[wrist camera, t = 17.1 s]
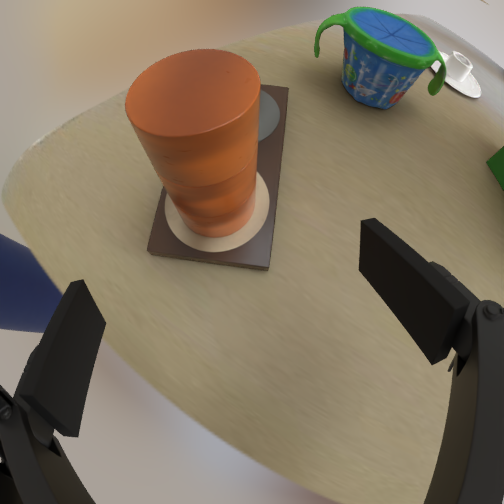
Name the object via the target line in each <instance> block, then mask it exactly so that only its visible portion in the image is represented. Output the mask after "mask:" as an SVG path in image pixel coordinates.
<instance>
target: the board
mask: <svg viewBox="0 0 504 504" xmlns="http://www.w3.org/2000/svg"><path fill="white" fill-rule="evenodd" d="M288 90H289V88H287V87H280V86H271V85H262V84H261V87H260V109H259V132H258V154H257V175H256V197H255V208H254V211H253V214H252V216H251V218H250V219H249V221H248V222H247V223H246V224H245V225H244V226H243V227H242V228H241V229H240V230H238V231H237V232H235V233H233V234H231V235H228V236H224V237H216V238H213V237H205V236H202V235H199V234H197V233H195V232H193V231H192V230H191V229H189V228H188V227H187V226H186V224H185V223H184V222H183V220H182V218H181V216H180V215H179V213H178V211H177V209H176V207H175V206H174V204H173V202H172V200H171V198H170V197H169V195H168V193H167V191H166V189H165V187H164V186H163V189H162V192H161V196H160V200H159V203H158V207H157V211H156V215H155V219H154V223H153V227H152V231H151V235H150V239H149V243H148V248H147V251H148V252H149V253H150V254H152V255H158V256H165V257H172V258H179V259H186V260H193V261H200V262H207V263H214V264H221V265H228V266H236V267H243V268H251V269H258V270H266V271H268V270H269V265H270V257H271V249H272V240H273V232H274V224H275V215H276V206H277V197H278V188H279V179H280V170H281V161H282V151H283V141H284V132H285V121H286V111H287V101H288Z"/></svg>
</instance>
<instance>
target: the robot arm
mask: <svg viewBox="0 0 504 504" xmlns="http://www.w3.org/2000/svg"><path fill="white" fill-rule="evenodd" d="M359 271H360V272H361V273H362V275H363V276H364V277H365V278H366V279H367V281H368V282H369V283H370V284H371V286H372V287H373V288H374V289H375V291H376V292H377V293H378V294H379V295H380V297H381V298H382V299H383V301H384V302H385V303H386V304H387V306H388V307H389V308H390V309H391V311H392V312H393V313H394V315H395V316H396V317H397V318H398V320H399V321H400V322H401V324H402V325H403V326H404V328H405V329H406V330H407V332H408V333H409V334H410V336H411V337H412V338H413V340H414V341H415V342H416V344H417V345H418V346H419V348H420V349H421V351H422V352H423V353H424V355H425V356H426V358H427V359H428V360H429V362H430V363H431V365H434V364H436V363H438V362H440V361H441V360H443V359H445V358H447V356H448V354H449V352H450V350H451V348H452V347H453V349H454V350H455V351H456V354H455V356H454V358H453V360H452V362H451V364H450V366H449V369H448V372H450V371H451V369H452V367H453V376H452V385H451V393H450V400H449V407H448V413H447V419H446V424H445V429H444V434H443V439H442V443H441V448H440V452H439V456H438V460H437V463H436V467H435V471H434V474H433V477H432V481H431V484H430V487H429V490H428V493H427V496H426V499H425V501H424V504H502V500H503V496H504V308H502V307H501V305H499V304H498V303H496V302H494V301H491V300H483V301H480V300H479V299H478V298H477V297H476V296H475V295H474V294H473V293H472V292H470V291H469V290H468V289H467V288H466V287H465V286H464V285H463V284H462V283H461V282H460V281H458V279H457V278H455V277H454V276H453V275H451V273H450V272H449V271H448V270H447V269H445V268H444V267H443V266H441V265H439V264H437V263H435V262H433V261H432V262H427V261H426V260H425V259H424V258H423V257H422V256H421V255H419V254H418V253H417V252H416V251H415V250H414V249H412V248H411V247H410V246H409V245H408V244H406V243H405V242H404V241H403V240H402V239H400V238H399V237H398V236H397V235H396V234H394V233H393V232H392V231H391V230H389V229H388V228H387V227H386V226H384V225H383V224H382V223H381V222H379V221H378V220H377V219H376V218H371V219H366V220H361V232H360V257H359ZM105 326H106V322H105V320H104V318H103V316H102V314H101V313H100V311H99V309H98V307H97V305H96V303H95V301H94V300H93V298H92V296H91V294H90V292H89V290H88V288H87V286H86V284H85V282H84V280H83V279H82V280H78V281H74V282H71V283H70V285H69V286H68V288H67V290H66V292H65V293H64V295H63V297H62V299H61V301H60V303H59V305H58V306H57V308H56V310H55V312H54V314H53V316H52V318H51V320H50V322H49V324H48V326H47V328H46V330H45V332H44V334H43V337H42V339H41V341H40V343H39V345H38V346H37V347H36V348H35V349H34V350H33V352H32V353H31V354H30V357H29V359H28V361H27V365H26V366H25V368H24V373H22V376H21V379H20V381H19V383H18V386H17V388H16V391H15V394H14V397H13V398H12V397H11V396H10V395H9V394H8V392H7V391H6V390H5V389H4V388H3V387H2V386H1V385H0V457H1V460H2V462H1V463H0V504H96V503H95V502H94V501H93V499H92V498H91V496H90V495H89V493H88V492H87V490H86V488H85V487H84V485H83V484H82V482H81V481H80V479H79V477H78V476H77V474H76V472H75V471H74V469H73V467H72V466H71V464H70V462H69V460H68V458H67V456H66V454H65V453H64V451H63V449H62V447H61V445H60V443H59V441H58V439H57V438H56V437H55V436H54V435H53V433H54V429H56V430H57V431H58V432H59V433H60V434H62V435H63V436H68V437H78V436H79V429H80V425H81V420H82V414H83V410H84V405H85V400H86V396H87V392H88V387H89V383H90V379H91V375H92V371H93V367H94V364H95V360H96V356H97V353H98V349H99V346H100V342H101V339H102V336H103V332H104V329H105Z"/></svg>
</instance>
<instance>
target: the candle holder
mask: <svg viewBox="0 0 504 504" xmlns="http://www.w3.org/2000/svg"><path fill="white" fill-rule="evenodd" d="M439 53H440V54H441V56H442V58H443V60H444V62H445V65H446V78H445V81H446V82H447V83H448V84H449V85H451V86H452V87H454V88H455V89H457V90H458V91H460V92H461V93H463V94H465V95H467V96H470V97H474V98H478V97H480V96H481V89H480V86H479V84H478V82H477V81H476V79H475V78H474V77H473V75H472V74H471V73H470V71H471V69H472V67H473V66H472V64H471V62H470V61H469V60H468V59H467V58H466V57H465V56H463V55H462V54H460V53H458V52H456V51H453V52H452V53H451V55H450V56H449V55H447V54H445V53H443V52H440V51H439ZM440 65H441V63H440V62H439V61H435V62H434V63H433V65H432V66H431V68H432V69H433V70H434V71H435V72H436V73H437V71H438V69H439V67H440Z"/></svg>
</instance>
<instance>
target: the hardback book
mask: <svg viewBox="0 0 504 504" xmlns="http://www.w3.org/2000/svg"><path fill="white" fill-rule="evenodd" d="M486 163H487V164H488V166H489V167H490V169H491V171H492V172H493V174H494V175H495V177H496V179H497V180H498V182H499V184H500V185H501V187H502V189H503V190H504V146H503V147H502V148H501V149H500V150H499V151H498V152H497V153H496V154H495V155H494V156H492V157H491V158H490V159H489V160H488V161H487V162H486Z"/></svg>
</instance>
